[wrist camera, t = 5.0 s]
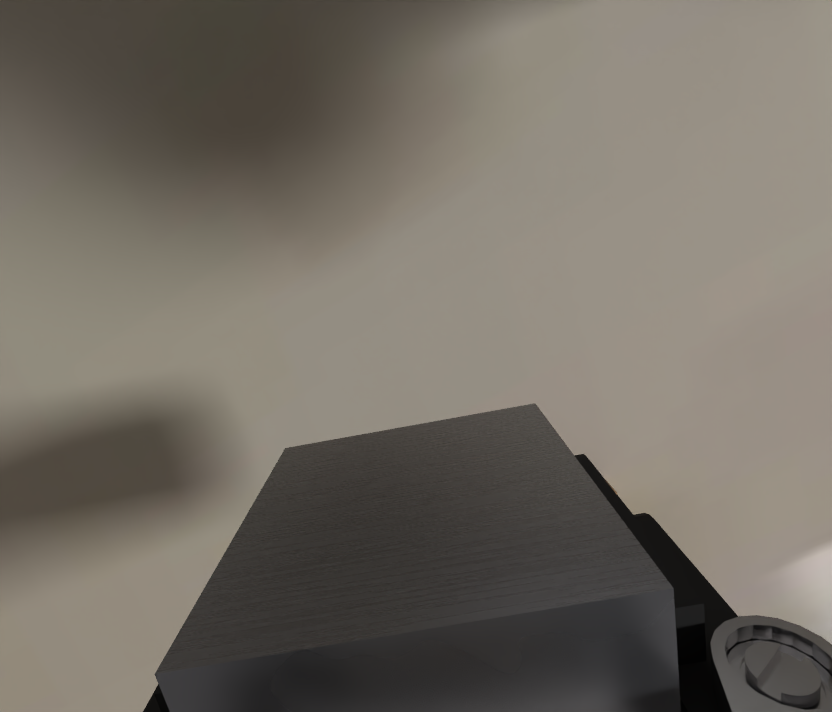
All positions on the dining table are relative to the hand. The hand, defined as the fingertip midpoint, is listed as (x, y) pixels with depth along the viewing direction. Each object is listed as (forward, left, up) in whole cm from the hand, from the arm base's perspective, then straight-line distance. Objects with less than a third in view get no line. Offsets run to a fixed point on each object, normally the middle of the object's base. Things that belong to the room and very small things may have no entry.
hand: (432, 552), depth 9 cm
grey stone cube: (0, 0, -1) cm, 1 cm away
